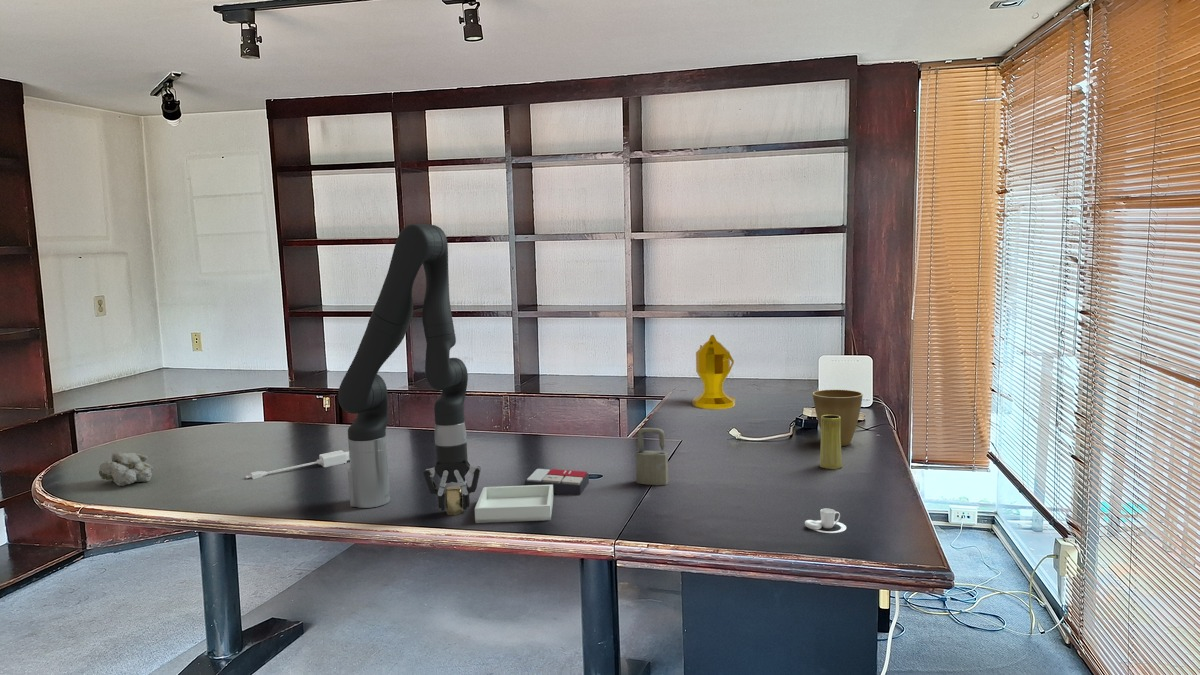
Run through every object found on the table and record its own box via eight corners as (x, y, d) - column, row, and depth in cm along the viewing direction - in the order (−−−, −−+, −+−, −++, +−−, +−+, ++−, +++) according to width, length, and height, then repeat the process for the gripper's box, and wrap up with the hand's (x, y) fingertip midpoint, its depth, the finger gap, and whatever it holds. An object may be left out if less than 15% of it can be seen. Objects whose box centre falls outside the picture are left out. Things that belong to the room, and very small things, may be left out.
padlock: (665, 486, 205) (664, 430, 204) (635, 483, 208) (634, 429, 206) (669, 481, 209) (667, 427, 207) (640, 479, 212) (638, 425, 210)
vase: (846, 465, 218) (846, 415, 217) (835, 470, 214) (836, 419, 212) (825, 462, 222) (825, 413, 221) (815, 467, 218) (815, 417, 216)
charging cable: (245, 480, 227) (243, 469, 227) (355, 457, 245) (354, 447, 245) (248, 484, 223) (246, 473, 223) (360, 460, 241) (359, 450, 240)
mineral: (123, 485, 214) (138, 450, 217) (80, 477, 220) (95, 443, 224) (159, 494, 225) (172, 460, 228) (117, 486, 231) (131, 453, 234)
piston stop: (445, 515, 188) (443, 491, 187) (448, 510, 192) (446, 486, 191) (461, 514, 188) (460, 490, 187) (464, 509, 192) (463, 485, 191)
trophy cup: (716, 397, 324) (715, 330, 321) (750, 407, 302) (750, 335, 299) (680, 401, 317) (678, 333, 314) (712, 412, 295) (711, 339, 292)
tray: (475, 523, 182) (474, 508, 181) (484, 500, 198) (483, 487, 198) (550, 520, 182) (550, 505, 181) (553, 497, 198) (552, 484, 198)
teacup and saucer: (803, 532, 170) (803, 514, 169) (807, 520, 177) (807, 503, 177) (845, 536, 167) (845, 518, 166) (847, 524, 174) (847, 506, 174)
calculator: (580, 482, 200) (524, 478, 202) (580, 498, 200) (524, 494, 203) (589, 470, 210) (535, 466, 213) (589, 485, 211) (535, 481, 214)
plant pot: (872, 443, 241) (872, 393, 239) (841, 451, 233) (841, 399, 231) (833, 435, 253) (833, 386, 252) (802, 442, 245) (802, 392, 243)
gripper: (417, 445, 184) (422, 515, 186) (478, 443, 184) (481, 513, 186) (424, 438, 191) (428, 505, 193) (482, 436, 192) (485, 503, 194)
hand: (454, 508), depth 190 cm, fingers open, 4 cm apart
